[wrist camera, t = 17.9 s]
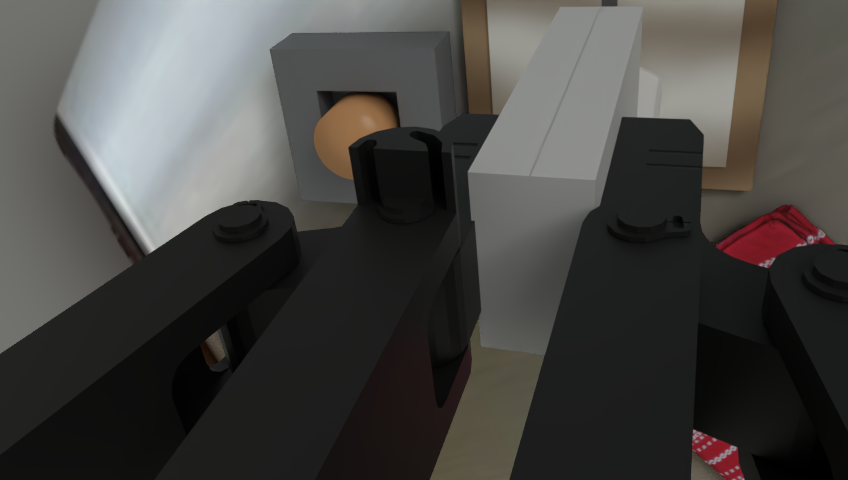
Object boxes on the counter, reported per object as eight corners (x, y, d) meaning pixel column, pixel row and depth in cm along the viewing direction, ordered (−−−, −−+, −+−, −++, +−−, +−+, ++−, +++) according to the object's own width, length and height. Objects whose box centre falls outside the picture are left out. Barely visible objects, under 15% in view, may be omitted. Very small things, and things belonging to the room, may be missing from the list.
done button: (328, 89, 46) (307, 109, 43) (397, 90, 44) (379, 110, 42) (339, 156, 48) (320, 178, 46) (405, 159, 47) (389, 181, 44)
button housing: (292, 33, 47) (269, 49, 44) (449, 31, 44) (434, 48, 41) (320, 179, 52) (301, 200, 49) (462, 186, 49) (449, 209, 46)
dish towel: (779, 184, 43) (783, 207, 41) (1042, 437, 47) (1058, 471, 45) (567, 330, 53) (561, 355, 51) (796, 530, 57) (800, 561, 55)
